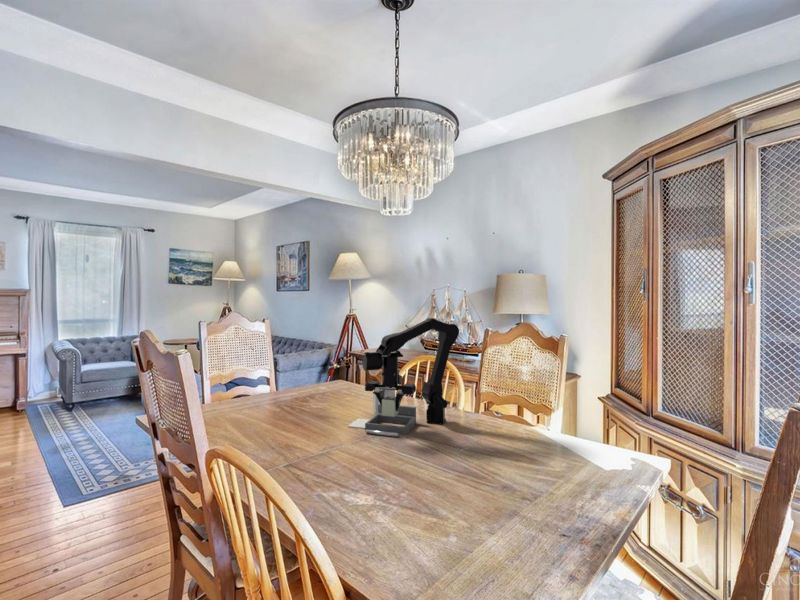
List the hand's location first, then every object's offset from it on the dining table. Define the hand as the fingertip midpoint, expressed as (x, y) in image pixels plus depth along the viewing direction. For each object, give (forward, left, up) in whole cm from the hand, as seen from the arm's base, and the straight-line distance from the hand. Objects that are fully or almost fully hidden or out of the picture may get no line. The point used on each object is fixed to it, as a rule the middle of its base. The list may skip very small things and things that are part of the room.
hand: (390, 410), depth 155 cm
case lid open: (0, -8, -6) cm, 10 cm away
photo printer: (+9, -18, -7) cm, 21 cm away
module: (0, 0, -2) cm, 2 cm away
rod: (0, +9, -6) cm, 11 cm away
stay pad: (+12, 0, -6) cm, 14 cm away
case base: (0, 0, -6) cm, 6 cm away
